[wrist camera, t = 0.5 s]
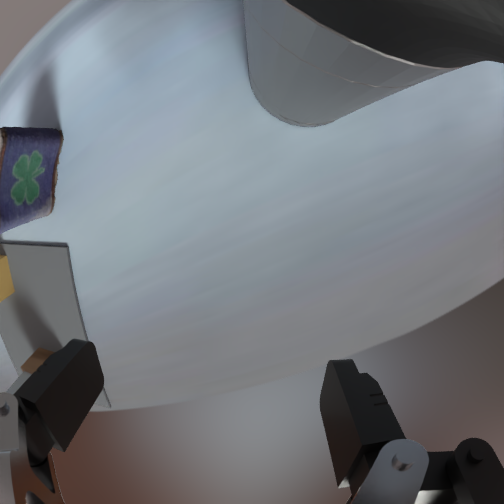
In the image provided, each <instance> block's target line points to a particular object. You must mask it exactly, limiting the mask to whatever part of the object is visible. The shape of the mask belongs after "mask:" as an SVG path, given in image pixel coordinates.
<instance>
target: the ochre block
mask: <svg viewBox="0 0 504 504" xmlns="http://www.w3.org/2000/svg"><path fill="white" fill-rule="evenodd" d="M14 292H15V290H14V286H13V282H12V278H11V273H10V269H9V264H8V259H7V256H5V255H0V302H1V301H3V300H4V299H6V298H7V297H8V296H10V295H11V294H13V293H14Z"/></svg>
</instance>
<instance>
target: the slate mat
mask: <svg viewBox="0 0 504 504" xmlns="http://www.w3.org/2000/svg"><path fill="white" fill-rule="evenodd" d="M0 255H5V256H7V259H8V264H9V269H10V273H11V278H12V282H13V286H14V290H15V292H14V293H13V294H11V295H10V296H8V297H7V298H6V299H4V300H3V301H1V302H0V334H1V337H2V339H3V342H4V344H5V347H6V349H7V351H8V354H9V356H10V358H11V360H12V363H13V365H14V367H15V369H16V371H17V373H18V375H19V376H20V375H21V374H22V373H23V371H22V369H21V366H22V365H23V364H24V363H25V362H26V360H27V359H28V358H29V357H30V356H31V355H32V354H33V353H34V352H35V351H36V350H37V349H38V348H39V347H40V348H43V349H46V350H49V351H53V352H57V351H58V350H60V349H63V347H64V346H65V345H66V344H67V343H68V342H69V341H70V340H72V339H74V338H75V339H80V340H85V341H88V338H87V334H86V331H85V327H84V323H83V319H82V315H81V311H80V307H79V303H78V298H77V293H76V289H75V284H74V278H73V273H72V267H71V261H70V254H69V247H66V246H47V245H28V244H9V243H0ZM94 404H97V405H100V406H104V407H108V408H111V405H110V402H109V400H108V397H107V395H106V392H105V389H104V387H103V389H102V392H101V393H100V395H99V396H98V398H97V400H96V401H95V403H94Z"/></svg>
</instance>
